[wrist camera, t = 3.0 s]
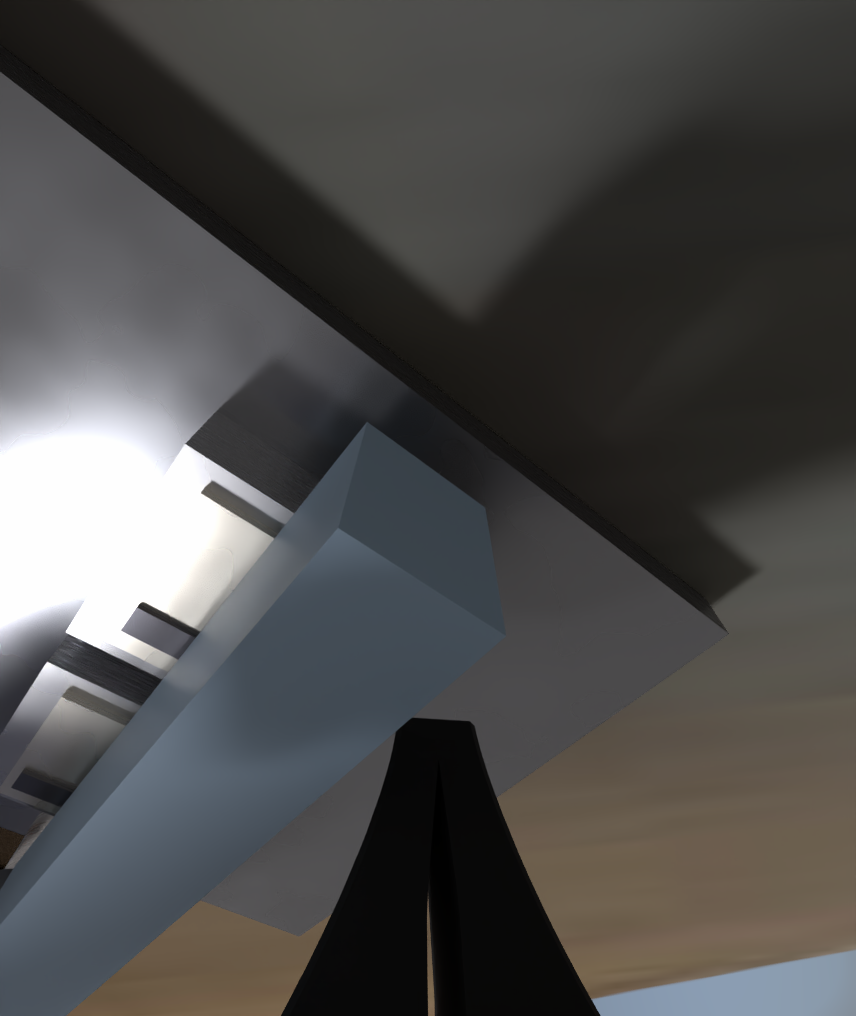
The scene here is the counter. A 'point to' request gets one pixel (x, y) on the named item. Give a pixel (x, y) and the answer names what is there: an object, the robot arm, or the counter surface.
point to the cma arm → (256, 718)
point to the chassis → (244, 495)
